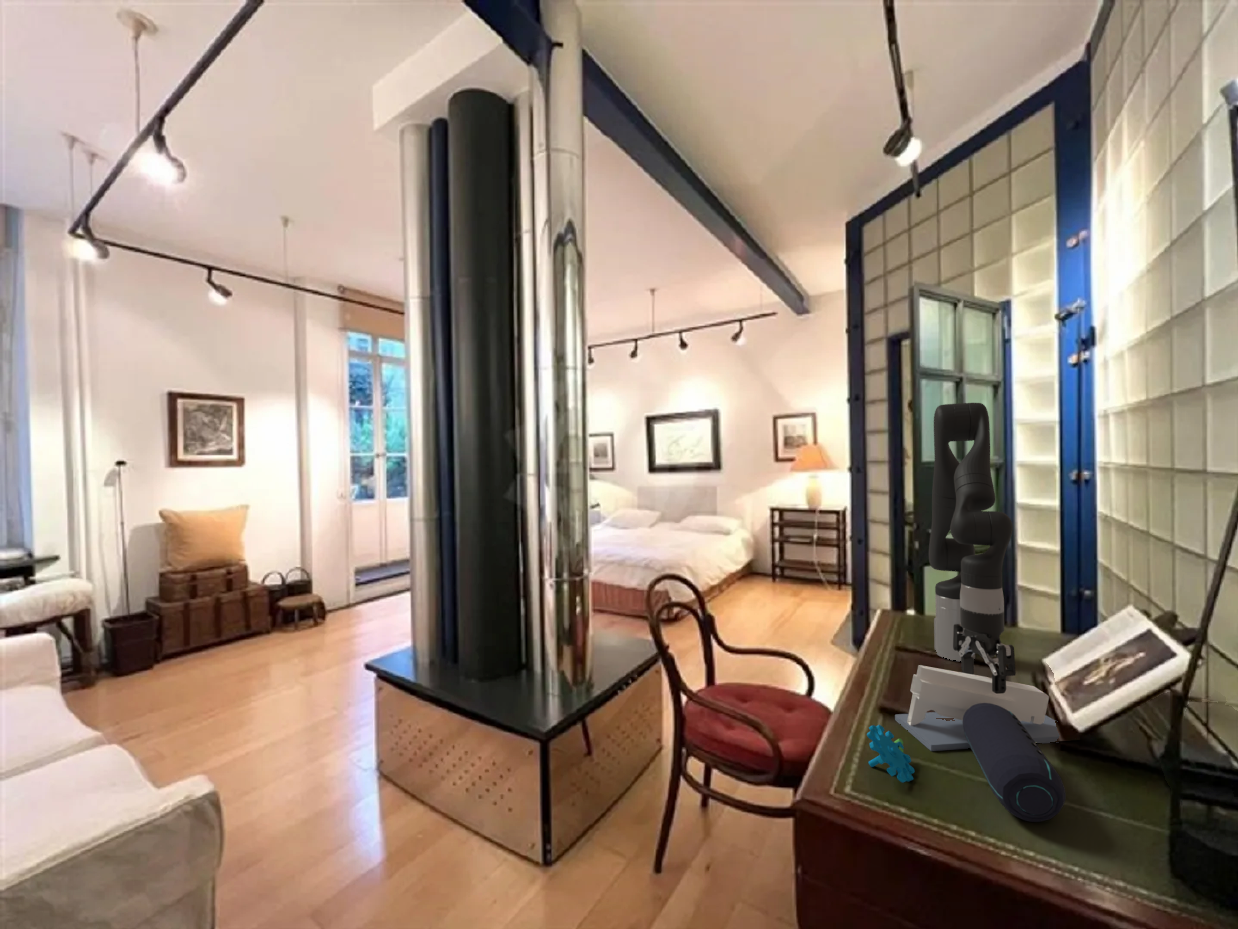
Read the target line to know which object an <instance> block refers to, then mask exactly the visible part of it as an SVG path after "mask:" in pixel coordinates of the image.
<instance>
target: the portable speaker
mask: <svg viewBox="0 0 1238 929" xmlns="http://www.w3.org/2000/svg"><path fill="white" fill-rule="evenodd" d="M963 729H964V733H965V737H966V739H967V741H968V743H969V745H970V747H971V748H970V749H971V751H972V753H973V756H974V757H975V760H976V761H977V763H978V765H979V767H980V769H981V771H982V774H983V776H984V778H985V779H986V781H987V783H988V785H989V787H990V789H991V791H992V794H993V795H994V796H995V797H996V799H997V800H998V802H1000V804H1001V805H1002V806H1003V807H1004V809H1005V810H1007V812H1009V813H1010V815H1013V816H1014V817H1016V818H1019V819H1021V820H1023V821H1025V822H1030V823H1041V822H1045V821H1049V820H1051V819H1053V818H1054V817H1055V816H1056V815H1058V814H1059V813H1060V812H1061V811H1062V808H1063V807H1064V805H1065V803H1066V798H1067V795H1066V788H1065V786H1064V782H1063V780H1062V777H1061V776H1060V775H1059V773H1058V772H1057V771H1056V769H1055V768H1054V766H1053V764H1051V762H1050V761H1049V759H1048V758H1047V757H1046V755H1045V754H1044V752H1043V750H1041V748H1040V747H1039V746H1038V744H1036V743H1035V741H1034V740H1033V739H1032V737H1031V736H1030V734H1029V733H1028V732H1027V730H1026V729H1025V727H1024V726H1023V725H1022V723H1021V722H1020V721H1019V720H1018V718H1017V717H1016V716H1015V715H1014V714H1013V713H1011V712H1010V711H1008V710H1006V709H1004V708H1003V707H1001V706H998V705H995V704H991V703H979V704H975V705H973V706H971V707H970V708H969V709H967V711H966V712H965V713H964V716H963Z"/></svg>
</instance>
